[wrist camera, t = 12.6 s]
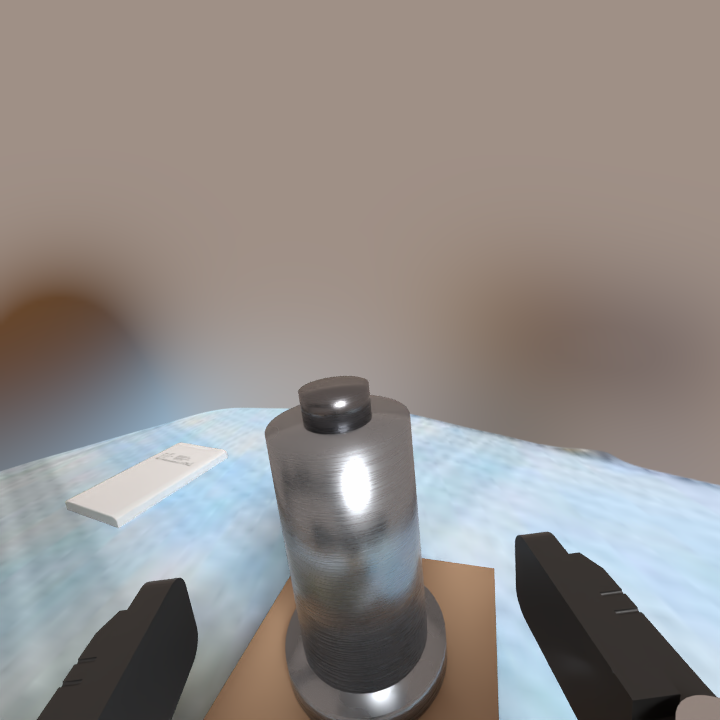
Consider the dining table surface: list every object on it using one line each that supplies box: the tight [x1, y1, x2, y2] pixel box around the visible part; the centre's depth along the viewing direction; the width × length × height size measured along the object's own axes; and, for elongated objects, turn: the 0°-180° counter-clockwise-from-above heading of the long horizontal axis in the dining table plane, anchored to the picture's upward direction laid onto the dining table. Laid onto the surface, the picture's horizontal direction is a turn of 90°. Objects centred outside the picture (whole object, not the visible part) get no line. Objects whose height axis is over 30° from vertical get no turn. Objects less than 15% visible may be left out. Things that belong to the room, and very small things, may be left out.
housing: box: [265, 376, 447, 720], centre depth 14 cm, size 6×6×11 cm
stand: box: [203, 558, 499, 720], centre depth 16 cm, size 10×10×4 cm
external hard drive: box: [65, 443, 228, 528], centre depth 39 cm, size 2×8×12 cm
